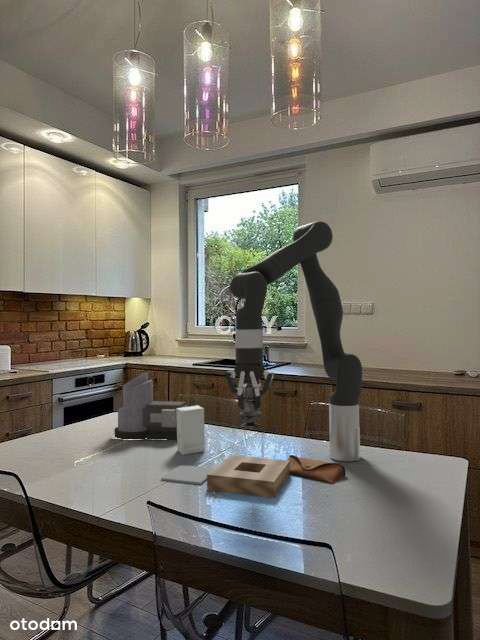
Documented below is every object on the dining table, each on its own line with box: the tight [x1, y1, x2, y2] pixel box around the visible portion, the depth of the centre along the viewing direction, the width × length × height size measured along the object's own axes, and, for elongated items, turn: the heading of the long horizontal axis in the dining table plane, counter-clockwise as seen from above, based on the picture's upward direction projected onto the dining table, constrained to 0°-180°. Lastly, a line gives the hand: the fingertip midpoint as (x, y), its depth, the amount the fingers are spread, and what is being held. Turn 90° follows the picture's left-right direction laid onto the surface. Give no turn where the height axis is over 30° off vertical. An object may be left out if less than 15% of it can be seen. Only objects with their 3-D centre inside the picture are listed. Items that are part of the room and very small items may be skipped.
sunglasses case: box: [287, 454, 346, 485], centre depth 132 cm, size 18×7×7 cm
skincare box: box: [176, 404, 206, 456], centre depth 155 cm, size 8×6×15 cm
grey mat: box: [160, 464, 215, 486], centre depth 131 cm, size 12×12×1 cm
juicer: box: [113, 372, 188, 440], centre depth 177 cm, size 30×16×24 cm, turn 81°
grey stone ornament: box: [238, 383, 262, 430], centre depth 126 cm, size 6×6×12 cm
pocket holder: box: [206, 454, 291, 499], centre depth 126 cm, size 18×18×4 cm
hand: (250, 408), depth 126 cm, fingers closed on grey stone ornament, 3 cm apart
